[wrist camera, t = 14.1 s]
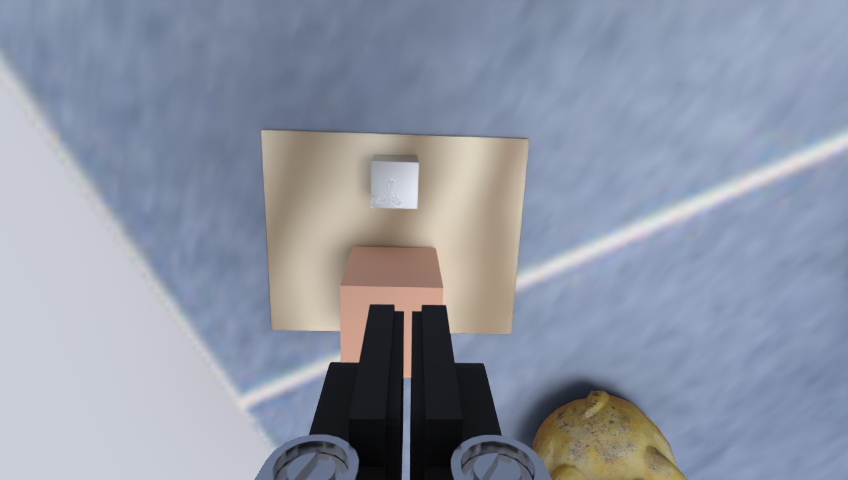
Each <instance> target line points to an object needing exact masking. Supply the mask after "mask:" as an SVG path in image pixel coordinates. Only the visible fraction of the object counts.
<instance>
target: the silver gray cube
mask: <svg viewBox="0 0 848 480" xmlns="http://www.w3.org/2000/svg"><path fill="white" fill-rule="evenodd" d="M418 174H419V161H418V156H410V155H378V154H375V155H374V157H373V159H372V161H371V208H402V209H417V204H418Z"/></svg>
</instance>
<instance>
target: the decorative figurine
mask: <svg viewBox="0 0 848 480" xmlns="http://www.w3.org/2000/svg"><path fill="white" fill-rule="evenodd" d="M532 450H533V451H535V453H536V454H537V455H538V457H539V458H540V459H541V460H542V462H543V464H544V466H545V467H546V469H547V471H548V473H549V475H550V477H551V478H552V480H687V479H686V478H685V476H684V475H683V474H682V473H681V472H680V471H679V469H678V468H677V467H676V462H675V459H674V456H673V453H672V450H671V447H670V445H669V443H668V442H667V440H666V439H665V437H664V436H663V434H662V433H661V431H660V430H659V429H658V427H657V426H656V425H655V424H654V423H653V422H652V421H651V420H650V419H649V418H648V417H647V416H646V415H645V414H644V413H643V412H642V411H641V410H640V409H639V408H638V407H637V406H636V405H635V404H633V403H631V402H629V401H627V400H624V399H622V398H619V397H616V396H612V395H609V394H607V393H606V392H605V391H601V390H597V391H591V392H590V393H589V394H588V396H587V397H586V398H582V399H577V400H574V401H571V402H569V403H567V404H565V405H563V406H559V407H558V408H557V409H554V412H552V413H551V414H550V415H549V416H548V417H547V418H546V419H545V420H544V421H543V423H542V424H541V426H540V427H539V429H538V430H537V433H536V435H535V438H534V442H533V446H532Z"/></svg>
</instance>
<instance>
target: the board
mask: <svg viewBox="0 0 848 480" xmlns="http://www.w3.org/2000/svg"><path fill="white" fill-rule="evenodd" d="M261 138H262V157H263V175H264V194H265V213H266V231H267V250H268V268H269V287H270V305H271V324H272V330H303V331H340V284H341V281H342V278H343V275H344V272H345V269H346V266H347V263H348V260H349V257H350V254H351V251H352V248H353V246H356V247H396V248H436V251H437V257H438V262H439V267H440V273H441V278H442V283H443V305H446V307H447V314H448V321H449V328H450V333H484V334H511V327H512V316H513V306H514V295H515V284H516V273H517V263H518V252H519V241H520V230H521V220H522V209H523V198H524V187H525V177H526V166H527V155H528V144H529V139H527V138H497V137H467V136H437V135H407V134H377V133H347V132H317V131H287V130H261ZM375 154H378V155H410V156H418V161H419V174H418V204H417V209H402V208H371V161H372V159H373V157H374V155H375Z"/></svg>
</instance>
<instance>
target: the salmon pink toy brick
mask: <svg viewBox="0 0 848 480" xmlns="http://www.w3.org/2000/svg"><path fill="white" fill-rule="evenodd" d="M370 304H394V305H395V311H404V378H411V344H412V311H421V307H422V305H443V283H442V278H441V273H440V267H439V262H438V257H437V251H436V248H396V247H356V246H353V248H352V251H351V254H350V257H349V260H348V263H347V266H346V269H345V272H344V275H343V278H342V281H341V284H340V332H341V362H359V359H360V354H361V349H362V343H363V338H364V333H365V327H366V322H367V317H368V312H369V306H370Z"/></svg>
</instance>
